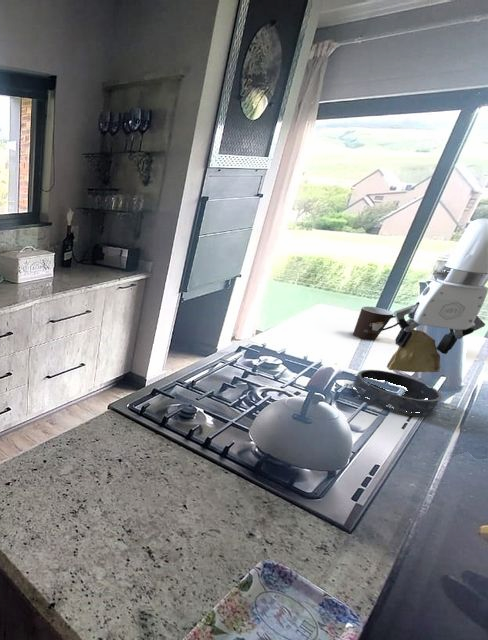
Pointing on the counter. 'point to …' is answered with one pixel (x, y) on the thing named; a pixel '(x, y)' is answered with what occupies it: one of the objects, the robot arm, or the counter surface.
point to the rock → (416, 355)
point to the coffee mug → (372, 322)
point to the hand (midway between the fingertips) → (420, 348)
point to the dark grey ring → (401, 404)
